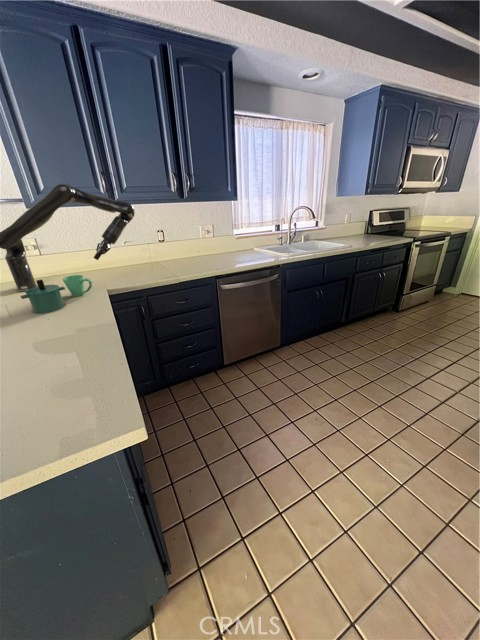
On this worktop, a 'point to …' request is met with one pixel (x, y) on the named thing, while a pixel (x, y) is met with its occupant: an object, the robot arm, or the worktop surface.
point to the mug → (76, 284)
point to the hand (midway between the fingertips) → (95, 258)
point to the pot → (46, 301)
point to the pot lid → (42, 289)
